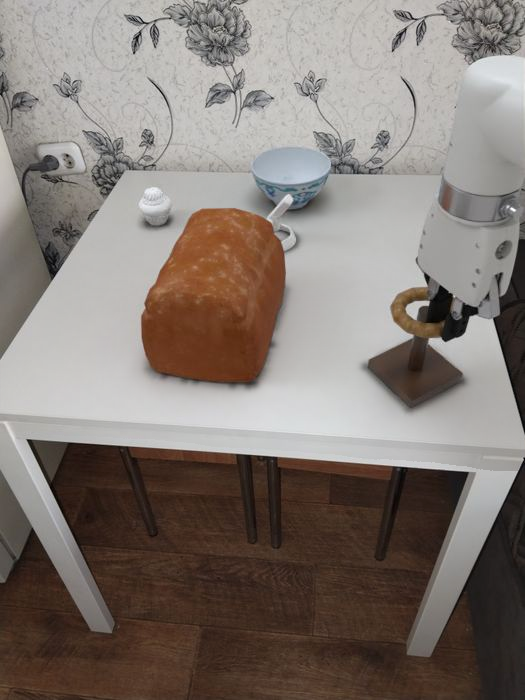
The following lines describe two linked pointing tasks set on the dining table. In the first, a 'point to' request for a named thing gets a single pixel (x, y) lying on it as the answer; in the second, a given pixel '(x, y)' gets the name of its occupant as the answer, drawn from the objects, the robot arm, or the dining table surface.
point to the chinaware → (291, 173)
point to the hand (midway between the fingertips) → (444, 328)
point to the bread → (216, 298)
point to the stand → (415, 369)
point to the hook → (277, 226)
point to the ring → (407, 321)
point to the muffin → (155, 206)
